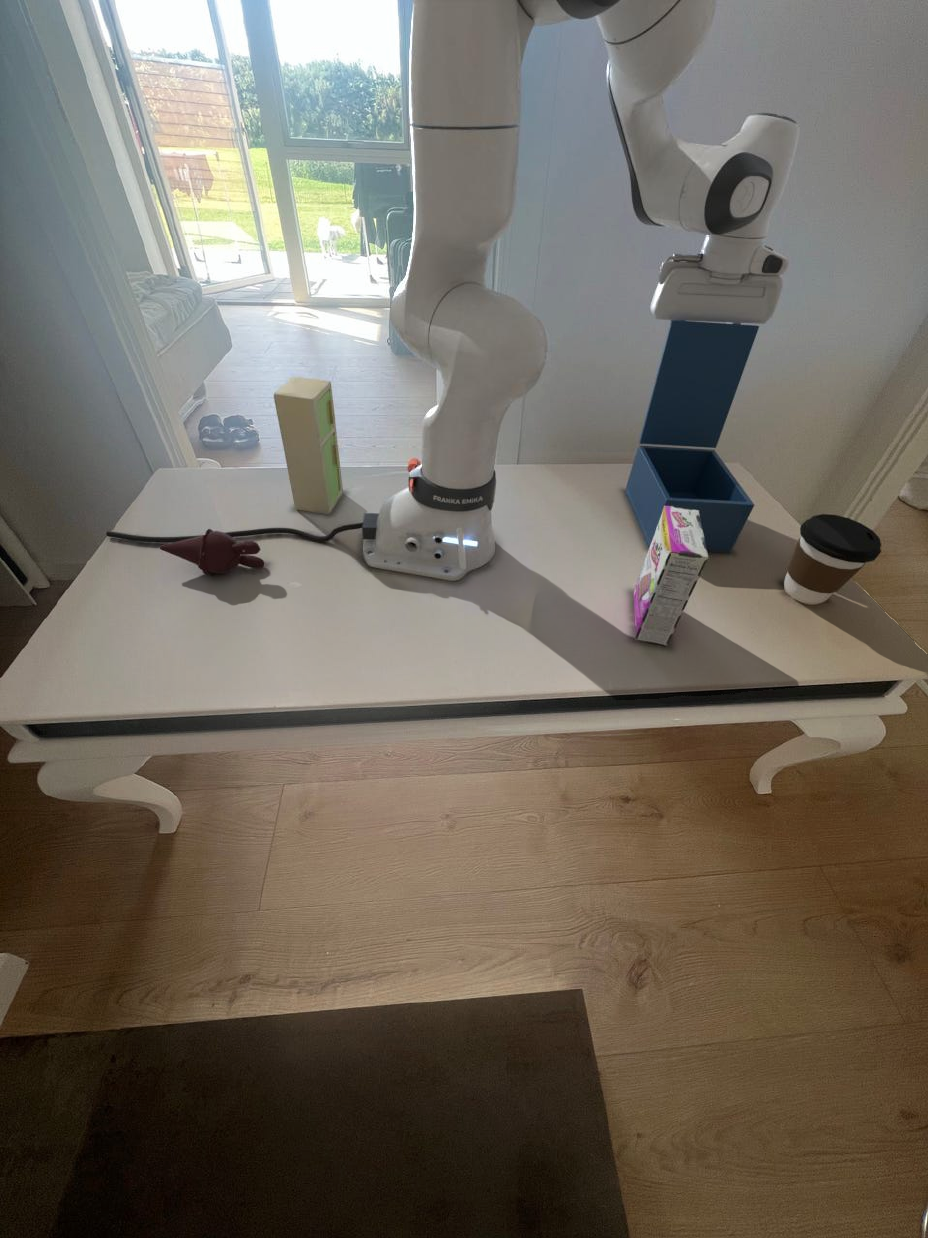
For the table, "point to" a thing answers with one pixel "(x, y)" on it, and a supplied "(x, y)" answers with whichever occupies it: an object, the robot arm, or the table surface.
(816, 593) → the coffee cup
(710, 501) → the cool box
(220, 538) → the icecream
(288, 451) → the toy refrigerator
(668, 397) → the lid
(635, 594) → the candy bar box
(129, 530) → the table surface
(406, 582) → the table surface
